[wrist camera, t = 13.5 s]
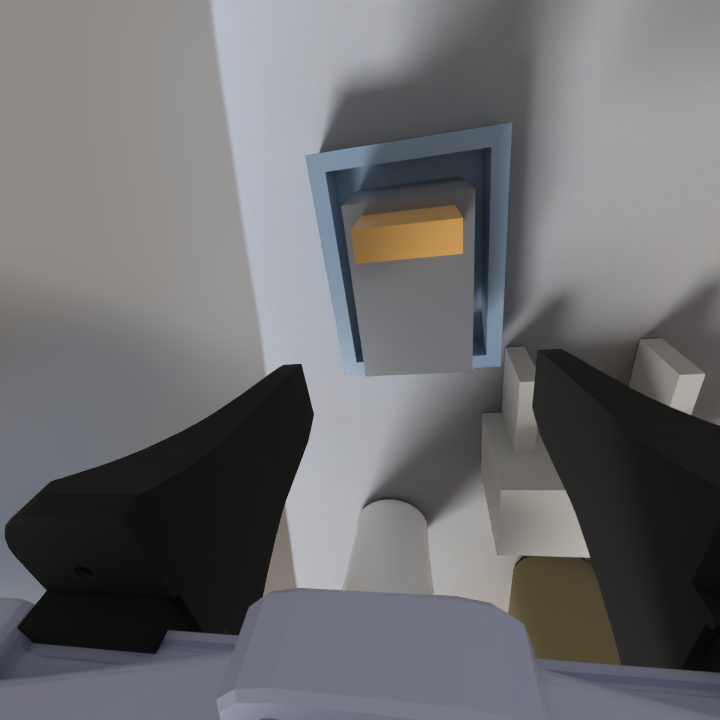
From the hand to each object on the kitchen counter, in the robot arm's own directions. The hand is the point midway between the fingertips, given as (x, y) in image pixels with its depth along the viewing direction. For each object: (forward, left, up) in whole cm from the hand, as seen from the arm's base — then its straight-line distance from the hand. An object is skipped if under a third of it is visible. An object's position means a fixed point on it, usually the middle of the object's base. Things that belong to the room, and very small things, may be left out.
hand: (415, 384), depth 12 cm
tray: (0, -2, -9) cm, 10 cm away
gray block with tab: (0, -2, -9) cm, 9 cm away
